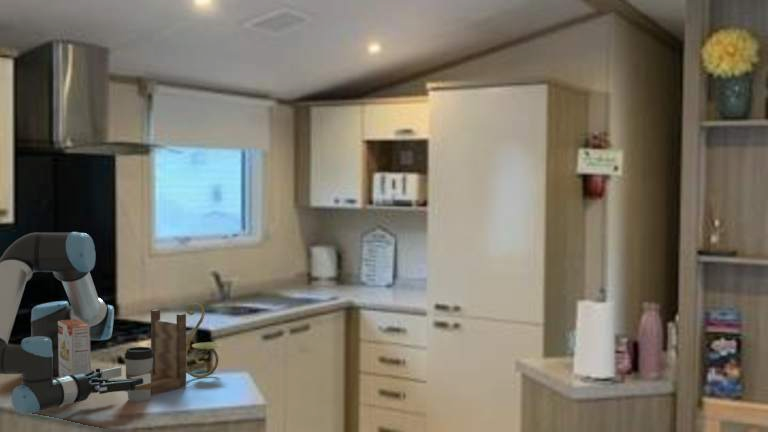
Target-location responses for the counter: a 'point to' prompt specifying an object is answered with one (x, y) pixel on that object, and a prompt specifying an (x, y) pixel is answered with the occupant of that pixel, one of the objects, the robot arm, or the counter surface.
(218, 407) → the counter surface
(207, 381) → the counter surface
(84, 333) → the cracker box
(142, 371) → the coffee cup
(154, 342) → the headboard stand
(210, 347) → the wall sconce
